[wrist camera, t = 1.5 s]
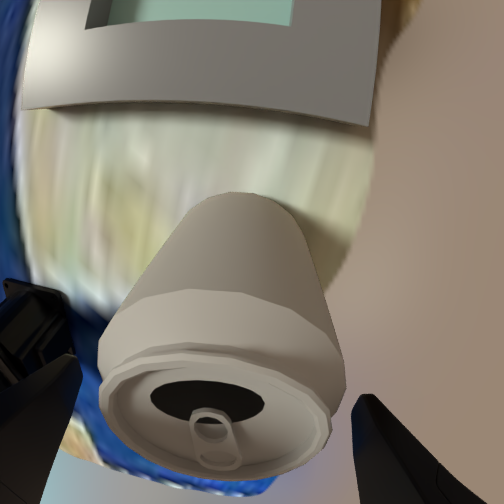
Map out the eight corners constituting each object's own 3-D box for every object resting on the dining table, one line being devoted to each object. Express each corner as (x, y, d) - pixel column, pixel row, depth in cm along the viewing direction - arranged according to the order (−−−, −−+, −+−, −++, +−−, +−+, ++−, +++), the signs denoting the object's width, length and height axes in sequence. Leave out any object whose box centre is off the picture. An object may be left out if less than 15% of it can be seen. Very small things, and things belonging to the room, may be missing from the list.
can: (302, 182, 16) (384, 321, 5) (306, 302, 19) (340, 485, 8) (164, 196, 16) (25, 330, 5) (188, 310, 19) (134, 481, 8)
